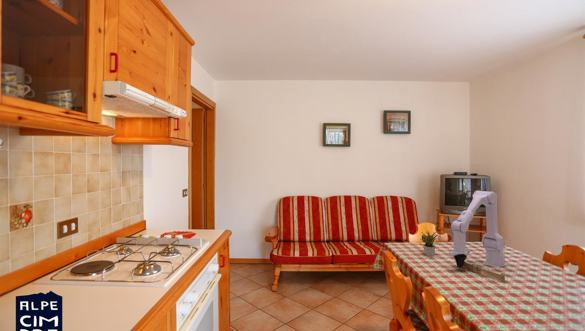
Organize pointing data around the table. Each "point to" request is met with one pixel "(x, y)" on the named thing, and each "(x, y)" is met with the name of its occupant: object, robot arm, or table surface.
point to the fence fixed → (491, 274)
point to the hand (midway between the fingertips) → (459, 267)
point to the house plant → (429, 244)
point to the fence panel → (470, 267)
